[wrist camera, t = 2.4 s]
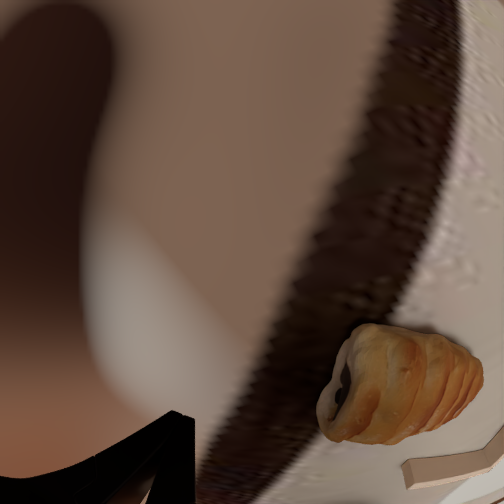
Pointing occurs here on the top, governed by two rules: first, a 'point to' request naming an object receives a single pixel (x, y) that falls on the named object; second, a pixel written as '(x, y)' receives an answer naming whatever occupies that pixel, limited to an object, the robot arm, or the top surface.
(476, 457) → the frame
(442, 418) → the pastry
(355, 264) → the top surface
